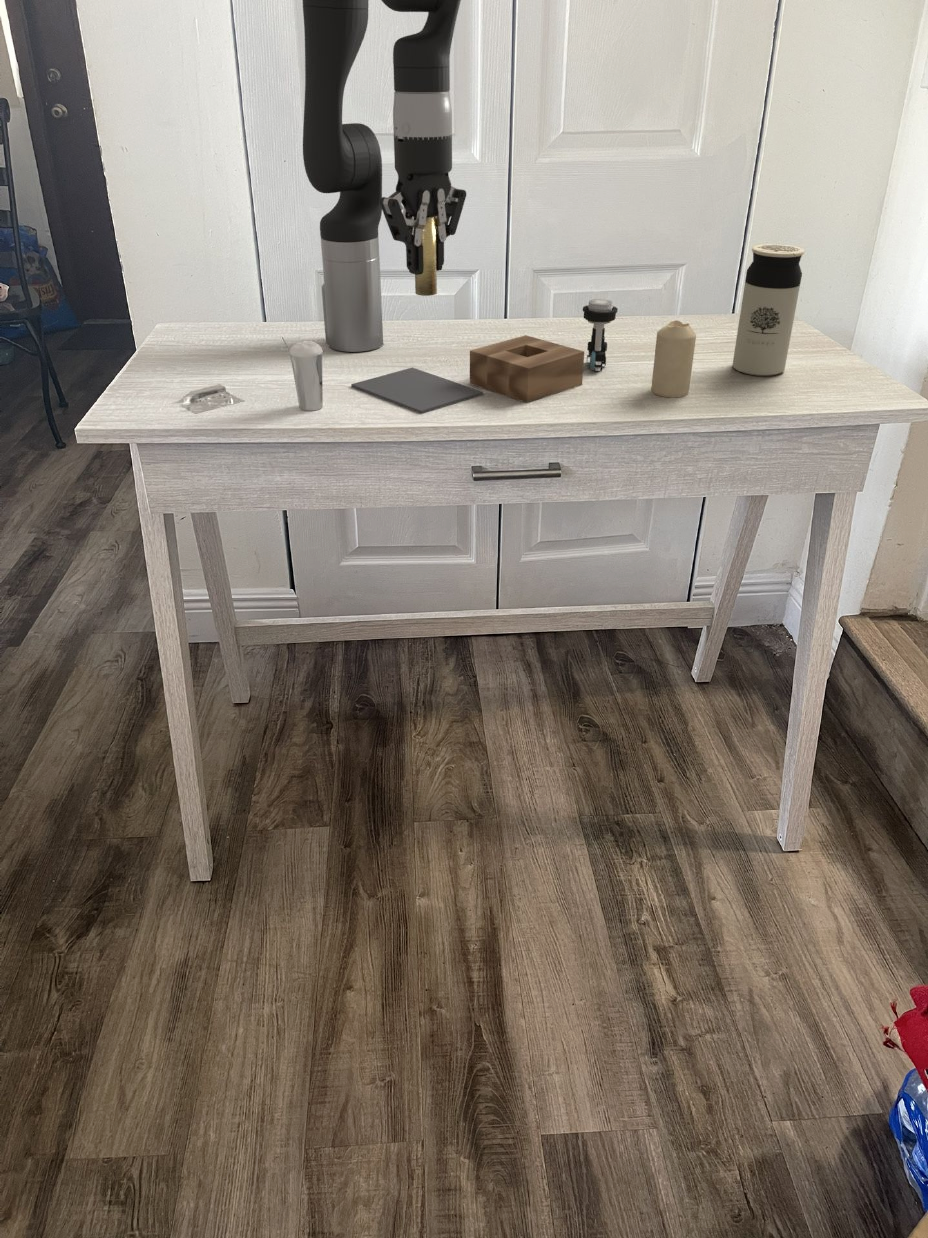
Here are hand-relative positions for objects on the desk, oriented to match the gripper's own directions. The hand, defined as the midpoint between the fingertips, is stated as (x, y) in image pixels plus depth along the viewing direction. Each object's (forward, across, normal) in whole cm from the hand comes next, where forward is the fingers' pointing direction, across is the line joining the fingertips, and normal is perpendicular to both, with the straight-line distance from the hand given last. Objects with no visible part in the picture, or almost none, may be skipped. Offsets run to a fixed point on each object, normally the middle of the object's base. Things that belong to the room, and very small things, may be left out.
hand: (425, 270), depth 130 cm
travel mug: (+17, -45, +27) cm, 56 cm away
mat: (+17, +1, -2) cm, 17 cm away
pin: (+3, 0, 0) cm, 3 cm away
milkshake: (+17, +17, -6) cm, 25 cm away
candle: (+17, -26, +24) cm, 40 cm away
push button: (+17, -27, +9) cm, 34 cm away
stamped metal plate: (+18, +26, -18) cm, 36 cm away
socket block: (+17, -13, +7) cm, 23 cm away
